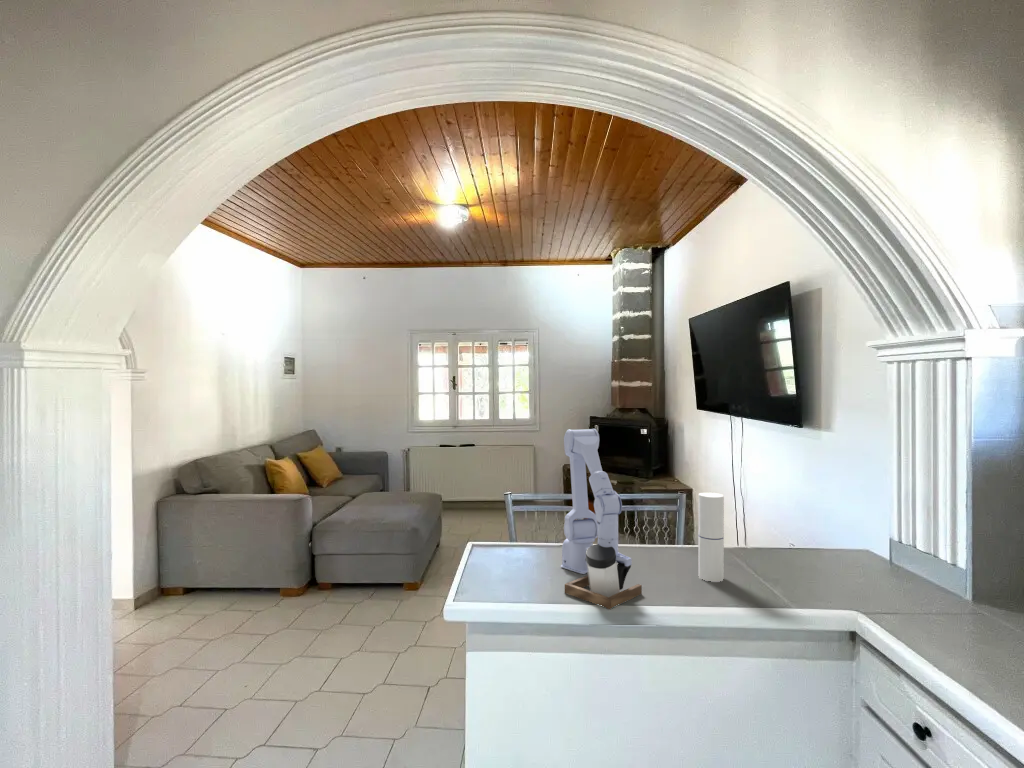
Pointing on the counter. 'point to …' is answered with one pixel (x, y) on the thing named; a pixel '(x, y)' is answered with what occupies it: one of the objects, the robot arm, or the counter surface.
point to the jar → (602, 570)
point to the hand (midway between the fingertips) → (608, 585)
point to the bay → (578, 591)
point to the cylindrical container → (711, 537)
